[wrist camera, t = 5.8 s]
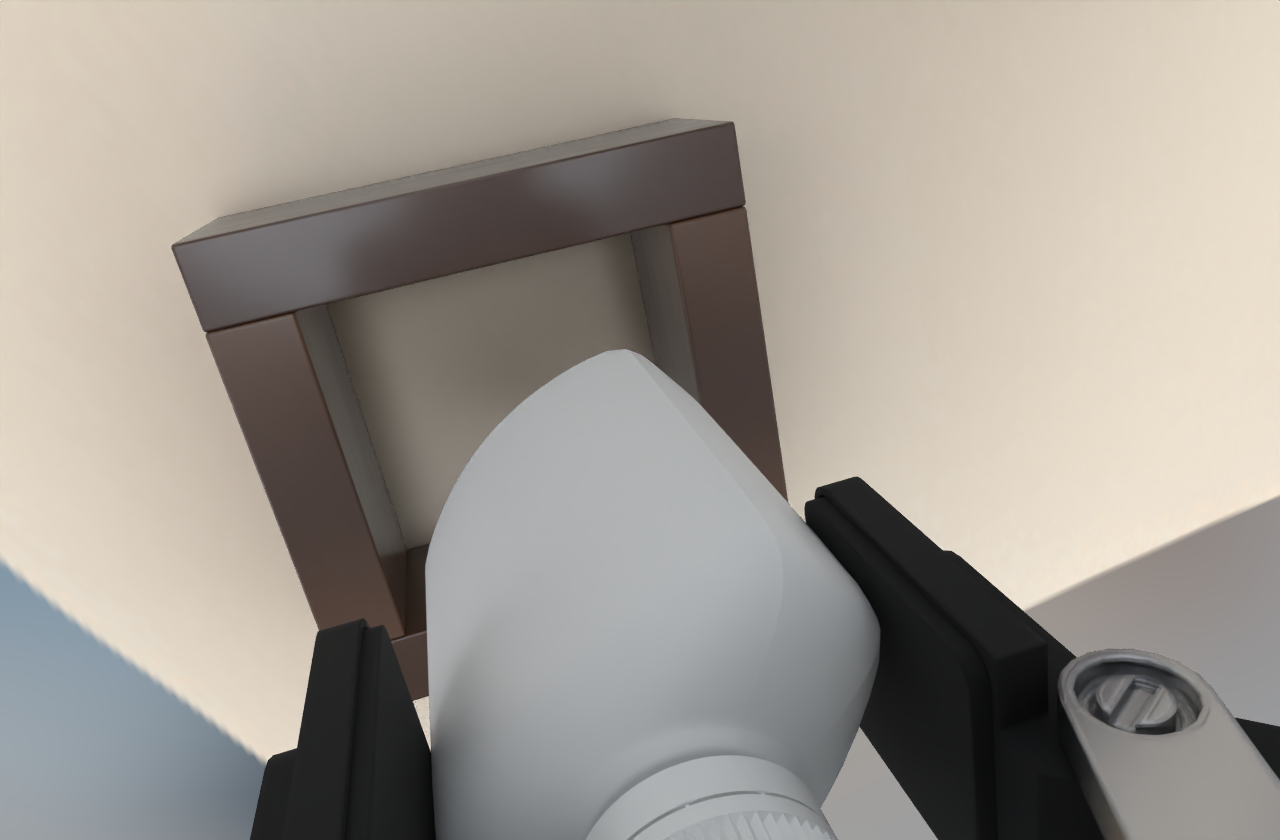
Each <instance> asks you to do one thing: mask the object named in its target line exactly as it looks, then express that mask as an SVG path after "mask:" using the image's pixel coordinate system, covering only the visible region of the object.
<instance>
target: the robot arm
mask: <svg viewBox="0 0 1280 840" xmlns="http://www.w3.org/2000/svg"><path fill="white" fill-rule="evenodd" d="M805 519H806V524H807V525H808V526H809V527H810V528H811V529H812V531H813V532H814V533H815V534H816V535H817V536H818V537H819V538H820V540H821V541H822V542H823V543H824V544H825V546H826V547H827V548H828V549H829V550H830V552H831V553H832V554H833V555H834V556H835V557H836V559H837V560H838V561H839V562H840V563H841V565H842V566H843V567H844V568H845V569H846V571H847V572H848V573H849V574H850V575H851V577H852V578H853V579H854V580H855V581H856V582H857V584H858V585H859V587H860V588H861V590H862V591H863V593H864V595H865V596H866V598H867V599H868V601H869V603H870V605H871V607H872V609H873V610H874V612H875V614H876V616H877V618H878V621H879V625H880V653H879V664H878V668H877V672H876V676H875V680H874V683H873V687H872V691H871V694H870V697H869V700H868V703H867V706H866V708H865V711H864V714H863V717H862V720H861V723H860V728H861V729H862V731H863V732H864V733H865V735H866V736H867V738H868V739H869V741H870V742H871V744H872V745H873V746H874V748H875V749H876V751H877V752H878V754H879V755H880V756H881V758H882V759H883V761H884V762H885V763H886V765H887V767H888V768H889V769H890V771H891V772H892V774H893V775H894V776H895V778H896V779H897V781H898V782H899V784H900V785H901V787H902V788H903V790H904V791H905V793H906V794H907V795H908V797H909V798H910V799H911V801H912V803H913V804H914V805H915V807H916V808H917V810H918V811H919V812H920V814H921V815H922V817H923V818H924V820H925V821H926V822H927V824H928V825H929V827H930V828H931V830H932V831H933V833H934V834H935V836H936V837H937V838H938V840H1280V727H1279V726H1274V725H1269V724H1264V723H1259V722H1254V721H1249V720H1244V719H1239V718H1234V717H1233V715H1232V714H1231V712H1230V711H1229V710H1228V708H1227V707H1226V706H1225V704H1224V703H1223V701H1222V700H1221V699H1220V697H1219V696H1218V695H1217V693H1216V692H1215V690H1214V689H1213V688H1212V687H1211V686H1210V685H1209V684H1208V683H1207V682H1206V681H1205V680H1204V679H1203V678H1202V677H1201V676H1200V675H1199V674H1198V673H1196V672H1195V671H1193V670H1191V669H1190V668H1188V667H1186V666H1185V665H1183V664H1181V663H1180V662H1178V661H1175V660H1172V659H1170V658H1167V657H1164V656H1162V655H1159V654H1156V653H1151V652H1146V651H1140V650H1135V649H1104V650H1099V651H1094V652H1089V653H1086V654H1084V655H1082V656H1080V657H1078V658H1077V657H1076V656H1074V655H1073V654H1072V653H1071V652H1070V651H1069V650H1068V649H1066V648H1065V647H1064V646H1063V645H1062V644H1061V643H1059V642H1058V641H1057V640H1056V639H1055V638H1053V636H1051V635H1050V634H1049V633H1048V632H1047V631H1045V630H1044V629H1043V628H1042V627H1041V626H1040V625H1039V624H1037V623H1036V622H1035V621H1034V620H1033V619H1032V618H1030V617H1029V616H1028V615H1027V614H1026V613H1025V612H1024V611H1022V610H1021V609H1020V608H1019V607H1018V606H1017V605H1016V604H1014V603H1013V602H1012V601H1011V600H1010V599H1009V598H1007V597H1006V596H1005V595H1004V594H1003V593H1002V592H1001V591H999V590H998V589H997V588H996V587H995V586H994V585H992V584H991V583H990V582H989V581H988V580H987V579H986V578H984V577H983V576H982V575H981V574H980V573H979V572H977V571H976V570H975V569H974V568H973V567H972V566H971V565H969V564H968V563H967V562H966V561H965V560H964V559H962V558H961V557H960V556H959V555H957V554H955V553H954V552H952V551H945V550H944V551H943V550H942V549H940V548H939V547H938V546H937V545H936V544H935V543H934V542H933V541H931V540H930V539H929V538H928V537H927V536H926V535H925V534H923V533H922V532H921V531H920V530H919V529H918V528H917V527H916V526H914V525H913V524H912V523H911V522H910V521H909V520H908V519H906V518H905V517H904V516H903V515H902V514H901V513H900V512H899V511H897V510H896V509H895V508H894V507H893V506H892V505H891V504H889V503H888V502H887V501H886V500H885V499H884V498H883V497H882V496H880V495H879V494H878V493H877V492H876V491H875V490H874V489H873V488H871V487H870V486H869V485H868V484H867V483H866V482H865V481H863V480H862V479H861V478H859V477H852V478H849V479H845V480H842V481H838V482H835V483H831V484H828V485H824V486H821V487H818V488H817V489H816V491H815V499H814V500H811V501H807V502H806V503H805ZM250 840H436V833H435V817H434V802H433V786H432V763H431V752H430V749H429V746H428V743H427V740H426V738H425V735H424V732H423V729H422V726H421V724H420V721H419V718H418V715H417V712H416V710H415V707H414V704H413V701H412V698H411V696H410V693H409V690H408V687H407V684H406V682H405V679H404V676H403V673H402V670H401V668H400V665H399V662H398V659H397V656H396V654H395V651H394V648H393V645H392V643H391V640H390V637H389V634H388V632H387V629H386V628H385V626H384V625H379V626H376V627H372V628H370V627H369V625H368V623H367V621H366V620H365V619H364V618H362V619H358V620H355V621H351V622H348V623H345V624H341V625H338V626H334V627H331V628H327V629H324V630H320V631H318V633H317V636H316V641H315V647H314V653H313V658H312V664H311V670H310V676H309V682H308V688H307V693H306V699H305V705H304V711H303V717H302V723H301V728H300V734H299V740H298V746H297V748H296V749H293V750H290V751H286V752H283V753H280V754H276V755H273V756H272V757H271V758H270V759H269V760H268V762H267V765H266V768H265V771H264V776H263V781H262V785H261V790H260V795H259V799H258V804H257V809H256V814H255V818H254V823H253V828H252V833H251V837H250Z"/></svg>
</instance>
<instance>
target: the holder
mask: <svg viewBox="0 0 1280 840" xmlns="http://www.w3.org/2000/svg"><path fill="white" fill-rule="evenodd" d="M744 205H745V195H744V188H743V181H742V174H741V167H740V160H739V153H738V146H737V139H736V132H735V125H734V123H733V122H731V121H713V120H694V119H676V118H675V119H671V120H666V121H662V122H657V123H652V124H648V125H643V126H639V127H634V128H629V129H625V130H620V131H616V132H611V133H606V134H602V135H597V136H593V137H588V138H583V139H579V140H574V141H570V142H565V143H560V144H556V145H551V146H547V147H542V148H537V149H533V150H528V151H523V152H519V153H514V154H510V155H505V156H500V157H496V158H491V159H487V160H482V161H477V162H473V163H468V164H464V165H459V166H454V167H450V168H445V169H441V170H436V171H431V172H427V173H422V174H418V175H413V176H408V177H404V178H399V179H395V180H390V181H385V182H381V183H376V184H372V185H367V186H362V187H358V188H353V189H348V190H344V191H339V192H335V193H330V194H325V195H321V196H316V197H312V198H307V199H302V200H298V201H293V202H289V203H284V204H279V205H275V206H270V207H266V208H261V209H256V210H252V211H247V212H243V213H238V214H233V215H229V216H224V217H220V218H217V219H215V220H214V221H212V222H210V223H209V224H207V225H205V226H204V227H202V228H200V229H198V230H197V231H195V232H193V233H192V234H190V235H188V236H186V237H185V238H183V239H181V240H180V241H178V242H176V243H175V244H173V245H172V251H173V254H174V256H175V259H176V261H177V264H178V266H179V269H180V272H181V274H182V277H183V279H184V282H185V285H186V287H187V290H188V292H189V295H190V298H191V300H192V303H193V305H194V308H195V311H196V313H197V316H198V318H199V321H200V323H201V326H202V329H203V330H204V331H205V332H207V333H206V339H207V341H208V344H209V347H210V349H211V352H212V354H213V357H214V360H215V362H216V365H217V367H218V370H219V372H220V375H221V378H222V380H223V383H224V385H225V388H226V391H227V393H228V396H229V398H230V401H231V404H232V406H233V409H234V411H235V414H236V417H237V419H238V422H239V424H240V427H241V429H242V432H243V435H244V437H245V440H246V442H247V445H248V448H249V450H250V453H251V455H252V458H253V461H254V463H255V466H256V468H257V471H258V474H259V476H260V479H261V481H262V484H263V486H264V489H265V492H266V494H267V497H268V499H269V502H270V505H271V507H272V510H273V512H274V515H275V518H276V520H277V523H278V525H279V528H280V531H281V533H282V536H283V538H284V541H285V543H286V546H287V549H288V551H289V554H290V556H291V559H292V562H293V564H294V567H295V569H296V572H297V575H298V577H299V580H300V582H301V585H302V588H303V590H304V593H305V595H306V598H307V600H308V603H309V606H310V608H311V611H312V613H313V616H314V619H315V621H316V624H317V626H318V629H319V631H320V630H324V629H327V628H331V627H334V626H338V625H341V624H345V623H348V622H351V621H355V620H358V619H362V618H364V619H365V620H366V621H367V623H368V625H369V627H370V628H372V627H376V626H379V625H384V626H385V628H386V629H387V632H388V634H389V637H390V640H391V643H392V645H393V648H394V651H395V654H396V656H397V659H398V662H399V665H400V668H401V670H402V673H403V676H404V679H405V682H406V684H407V687H408V690H409V693H410V696H411V698H412V701H414V700H417V699H420V698H423V697H427V696H429V682H428V649H427V616H426V581H425V564H426V559H427V555H428V550H429V546H430V544H429V545H425V546H421V547H418V548H414V549H411V550H407V551H406V546H405V543H404V540H403V537H402V534H401V531H400V528H399V525H398V522H397V519H396V516H395V513H394V510H393V507H392V504H391V501H390V498H389V494H388V491H387V488H386V485H385V482H384V479H383V476H382V473H381V470H380V467H379V464H378V461H377V458H376V455H375V452H374V449H373V446H372V443H371V440H370V437H369V434H368V431H367V428H366V425H365V422H364V419H363V416H362V412H361V409H360V406H359V403H358V400H357V397H356V394H355V391H354V388H353V385H352V382H351V379H350V376H349V373H348V370H347V367H346V364H345V361H344V358H343V355H342V352H341V349H340V346H339V343H338V340H337V337H336V333H335V330H334V327H333V324H332V321H331V318H330V315H329V312H328V309H327V306H326V304H329V303H334V302H338V301H342V300H346V299H351V298H355V297H359V296H363V295H367V294H372V293H376V292H380V291H384V290H389V289H393V288H397V287H401V286H406V285H410V284H414V283H418V282H423V281H427V280H431V279H435V278H440V277H444V276H448V275H452V274H457V273H461V272H465V271H469V270H474V269H478V268H482V267H486V266H491V265H495V264H499V263H503V262H508V261H512V260H516V259H520V258H525V257H529V256H533V255H537V254H542V253H546V252H550V251H554V250H558V249H563V248H567V247H571V246H575V245H580V244H584V243H588V242H592V241H597V240H601V239H605V238H609V237H614V236H618V235H622V234H626V233H631V238H632V243H633V248H634V253H635V258H636V264H637V269H638V274H639V279H640V284H641V290H642V295H643V300H644V305H645V310H646V315H647V321H648V326H649V331H650V336H651V341H652V347H653V352H654V357H655V362H656V366H657V367H658V368H659V369H660V370H661V371H663V372H664V373H665V374H666V375H667V376H668V377H670V378H671V379H672V380H673V381H674V382H676V383H677V384H678V385H679V386H680V387H682V388H683V389H684V390H685V391H686V392H687V393H688V394H689V395H691V396H692V397H693V398H694V399H695V400H696V401H697V402H698V403H699V404H700V405H701V406H702V407H703V408H704V409H705V411H706V412H707V413H708V414H709V415H710V416H711V417H712V418H713V419H714V420H715V422H716V423H717V424H718V425H719V426H720V427H721V428H722V429H723V431H724V432H725V433H726V434H727V435H728V436H729V437H730V438H731V439H732V441H733V442H734V443H735V444H736V445H737V446H738V447H739V448H740V449H741V451H742V452H743V453H744V454H745V455H746V456H747V457H748V458H749V460H750V461H751V462H752V463H753V464H754V465H755V466H756V467H757V468H758V470H759V471H760V472H761V473H762V474H763V475H764V476H765V477H766V479H767V480H768V481H769V482H770V483H771V484H772V485H773V486H774V488H775V489H776V490H777V491H778V492H779V493H780V494H781V496H782V497H783V498H784V499H785V500H786V501H787V502H788V497H787V490H786V483H785V476H784V469H783V462H782V455H781V448H780V441H779V435H778V428H777V421H776V414H775V407H774V400H773V393H772V386H771V379H770V372H769V365H768V358H767V351H766V344H765V337H764V330H763V323H762V316H761V309H760V302H759V295H758V288H757V281H756V274H755V267H754V260H753V253H752V246H751V239H750V232H749V225H748V218H747V211H746V208H745V207H744Z"/></svg>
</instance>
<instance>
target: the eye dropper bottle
mask: <svg viewBox="0 0 1280 840" xmlns="http://www.w3.org/2000/svg"><path fill="white" fill-rule="evenodd" d="M425 581H426V616H427V649H428V682H429V709H430V736H431V763H432V786H433V802H434V817H435V833H436V840H838V839H837V837H836V836H835V834H834V833H833V830H832V829H831V827H830V825H829V823H828V821H827V820H826V818H825V816H824V814H823V813H822V811H821V809H820V808H821V806H822V804H823V802H824V801H825V799H826V797H827V795H828V793H829V792H830V790H831V788H832V786H833V784H834V782H835V780H836V778H837V776H838V774H839V772H840V770H841V768H842V766H843V764H844V761H845V759H846V757H847V754H848V752H849V749H850V747H851V745H852V743H853V740H854V738H855V736H856V733H857V731H858V728H859V726H860V723H861V720H862V717H863V714H864V711H865V708H866V706H867V703H868V700H869V697H870V694H871V691H872V687H873V683H874V680H875V676H876V672H877V668H878V664H879V653H880V625H879V621H878V618H877V616H876V614H875V612H874V610H873V609H872V607H871V605H870V603H869V601H868V599H867V598H866V596H865V595H864V593H863V591H862V590H861V588H860V587H859V585H858V584H857V582H856V581H855V580H854V579H853V578H852V577H851V575H850V574H849V573H848V572H847V571H846V569H845V568H844V567H843V566H842V565H841V563H840V562H839V561H838V560H837V559H836V557H835V556H834V555H833V554H832V553H831V552H830V550H829V549H828V548H827V547H826V546H825V544H824V543H823V542H822V541H821V540H820V538H819V537H818V536H817V535H816V534H815V533H814V532H813V531H812V529H811V528H810V527H809V526H808V525H807V524H806V523H805V521H804V520H803V519H802V518H801V517H800V516H799V515H798V514H797V512H796V511H795V510H794V509H793V508H792V507H791V506H790V505H789V503H788V502H787V501H786V500H785V499H784V498H783V497H782V496H781V494H780V493H779V492H778V491H777V490H776V489H775V488H774V486H773V485H772V484H771V483H770V482H769V481H768V480H767V479H766V477H765V476H764V475H763V474H762V473H761V472H760V471H759V470H758V468H757V467H756V466H755V465H754V464H753V463H752V462H751V461H750V460H749V458H748V457H747V456H746V455H745V454H744V453H743V452H742V451H741V449H740V448H739V447H738V446H737V445H736V444H735V443H734V442H733V441H732V439H731V438H730V437H729V436H728V435H727V434H726V433H725V432H724V431H723V429H722V428H721V427H720V426H719V425H718V424H717V423H716V422H715V420H714V419H713V418H712V417H711V416H710V415H709V414H708V413H707V412H706V411H705V409H704V408H703V407H702V406H701V405H700V404H699V403H698V402H697V401H696V400H695V399H694V398H693V397H692V396H691V395H689V394H688V393H687V392H686V391H685V390H684V389H683V388H682V387H680V386H679V385H678V384H677V383H676V382H674V381H673V380H672V379H671V378H670V377H668V376H667V375H666V374H665V373H664V372H663V371H661V370H660V369H659V368H658V367H657V366H655V365H654V364H653V363H652V362H650V361H649V360H648V359H646V358H645V357H644V356H643V355H640V354H638V353H635V352H633V351H630V350H628V349H619V350H611V351H605V352H603V353H600V354H598V355H596V356H593V357H591V358H589V359H586V360H585V361H583V362H581V363H579V364H577V365H575V366H574V367H572V368H570V369H568V370H567V371H565V372H563V373H562V374H560V375H558V376H557V377H555V378H554V379H552V380H551V381H549V382H548V383H546V384H545V385H544V386H542V387H541V388H539V389H538V390H537V391H535V392H534V393H533V394H532V395H530V396H529V397H528V398H526V399H525V400H524V401H523V402H522V403H521V404H519V405H518V406H517V407H516V408H515V409H514V410H513V411H512V412H511V413H510V414H509V415H507V416H506V417H505V418H504V419H503V420H502V421H501V422H500V423H499V424H498V426H497V427H496V428H495V429H494V430H493V431H492V432H491V433H490V434H489V436H488V437H487V438H486V439H485V440H484V442H483V443H482V444H481V445H480V447H479V448H478V449H477V451H476V452H475V453H474V455H473V456H472V458H471V459H470V460H469V462H468V463H467V465H466V466H465V468H464V470H463V471H462V473H461V474H460V476H459V478H458V480H457V481H456V483H455V485H454V487H453V489H452V491H451V493H450V495H449V497H448V499H447V501H446V503H445V505H444V507H443V509H442V512H441V514H440V517H439V519H438V522H437V524H436V527H435V530H434V533H433V536H432V539H431V542H430V546H429V550H428V555H427V559H426V564H425Z"/></svg>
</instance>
